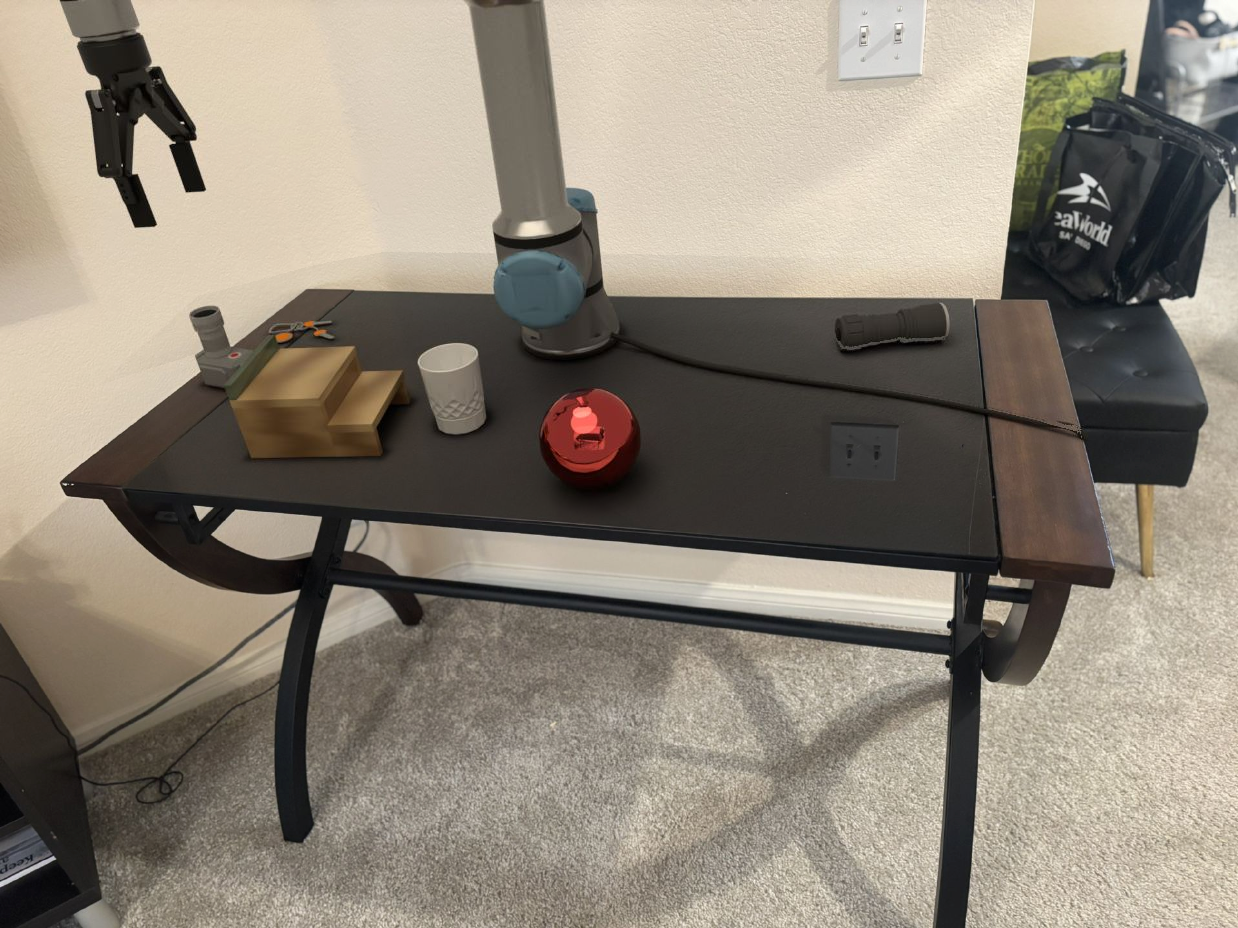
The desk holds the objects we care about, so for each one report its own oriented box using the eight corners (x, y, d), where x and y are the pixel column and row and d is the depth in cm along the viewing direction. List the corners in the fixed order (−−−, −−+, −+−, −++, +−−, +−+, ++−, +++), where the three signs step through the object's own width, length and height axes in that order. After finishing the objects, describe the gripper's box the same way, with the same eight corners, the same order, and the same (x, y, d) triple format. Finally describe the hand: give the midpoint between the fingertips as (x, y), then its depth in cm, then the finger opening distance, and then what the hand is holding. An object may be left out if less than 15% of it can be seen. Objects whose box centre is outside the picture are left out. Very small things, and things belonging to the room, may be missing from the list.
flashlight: (841, 359, 129) (843, 325, 126) (830, 342, 134) (832, 309, 131) (947, 347, 130) (951, 312, 127) (933, 330, 134) (937, 296, 131)
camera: (208, 297, 137) (287, 308, 132) (232, 365, 144) (308, 378, 139) (165, 322, 131) (246, 334, 126) (192, 392, 138) (270, 407, 132)
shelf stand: (410, 400, 130) (393, 330, 124) (380, 456, 119) (359, 381, 112) (291, 403, 132) (268, 334, 126) (251, 458, 121) (223, 385, 114)
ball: (659, 462, 112) (654, 377, 105) (618, 519, 104) (608, 430, 97) (574, 445, 117) (563, 363, 110) (527, 498, 108) (513, 412, 101)
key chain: (259, 343, 150) (257, 339, 149) (277, 323, 155) (275, 319, 155) (332, 341, 148) (331, 337, 147) (348, 321, 154) (346, 317, 153)
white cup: (500, 409, 126) (488, 345, 120) (474, 440, 120) (461, 374, 114) (449, 404, 128) (435, 340, 123) (422, 434, 122) (406, 369, 117)
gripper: (133, 20, 120) (190, 180, 132) (14, 59, 100) (94, 244, 112) (186, 15, 119) (238, 177, 131) (77, 54, 99) (150, 241, 111)
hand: (172, 208), depth 121 cm, fingers open, 13 cm apart
